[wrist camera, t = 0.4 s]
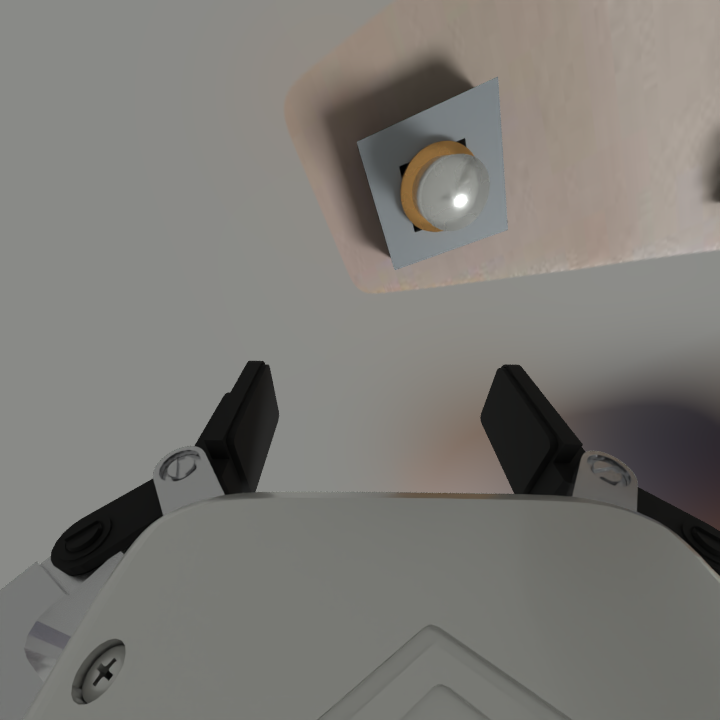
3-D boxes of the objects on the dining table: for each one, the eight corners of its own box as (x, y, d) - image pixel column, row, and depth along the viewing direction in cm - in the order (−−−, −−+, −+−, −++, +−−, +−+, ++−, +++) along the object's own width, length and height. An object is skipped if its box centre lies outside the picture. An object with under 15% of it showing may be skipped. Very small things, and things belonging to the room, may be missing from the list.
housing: (357, 144, 29) (356, 141, 25) (476, 89, 27) (497, 76, 23) (390, 257, 36) (394, 270, 31) (489, 221, 33) (507, 229, 29)
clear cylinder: (432, 124, 27) (462, 108, 19) (478, 181, 30) (522, 188, 22) (381, 191, 30) (389, 201, 22) (427, 237, 33) (449, 261, 25)
